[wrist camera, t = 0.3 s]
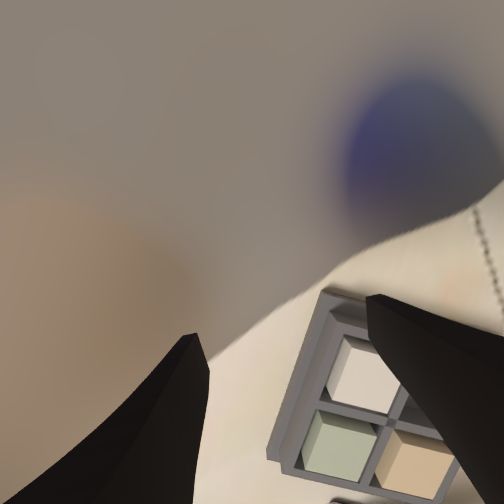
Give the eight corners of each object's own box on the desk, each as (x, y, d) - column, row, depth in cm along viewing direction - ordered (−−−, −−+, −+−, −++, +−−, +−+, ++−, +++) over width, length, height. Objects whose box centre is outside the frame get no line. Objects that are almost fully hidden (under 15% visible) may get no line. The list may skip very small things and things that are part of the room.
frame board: (416, 484, 24) (444, 530, 20) (266, 449, 23) (268, 490, 20) (488, 336, 21) (534, 360, 18) (321, 290, 20) (335, 305, 17)
